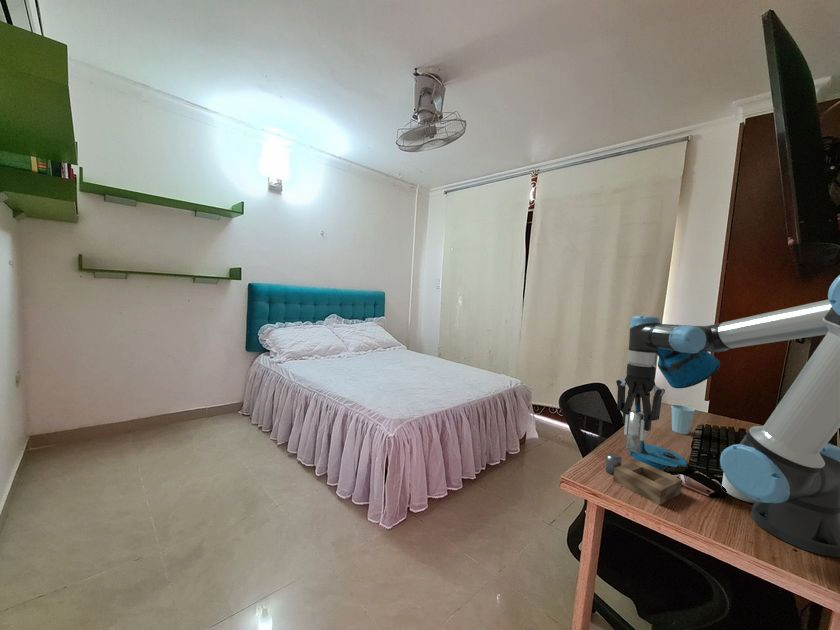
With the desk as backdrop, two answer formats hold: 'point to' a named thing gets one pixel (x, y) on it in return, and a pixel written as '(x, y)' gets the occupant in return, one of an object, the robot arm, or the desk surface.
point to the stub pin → (612, 462)
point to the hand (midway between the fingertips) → (635, 436)
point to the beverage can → (734, 491)
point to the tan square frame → (648, 481)
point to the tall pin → (634, 431)
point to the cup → (681, 418)
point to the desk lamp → (679, 374)
